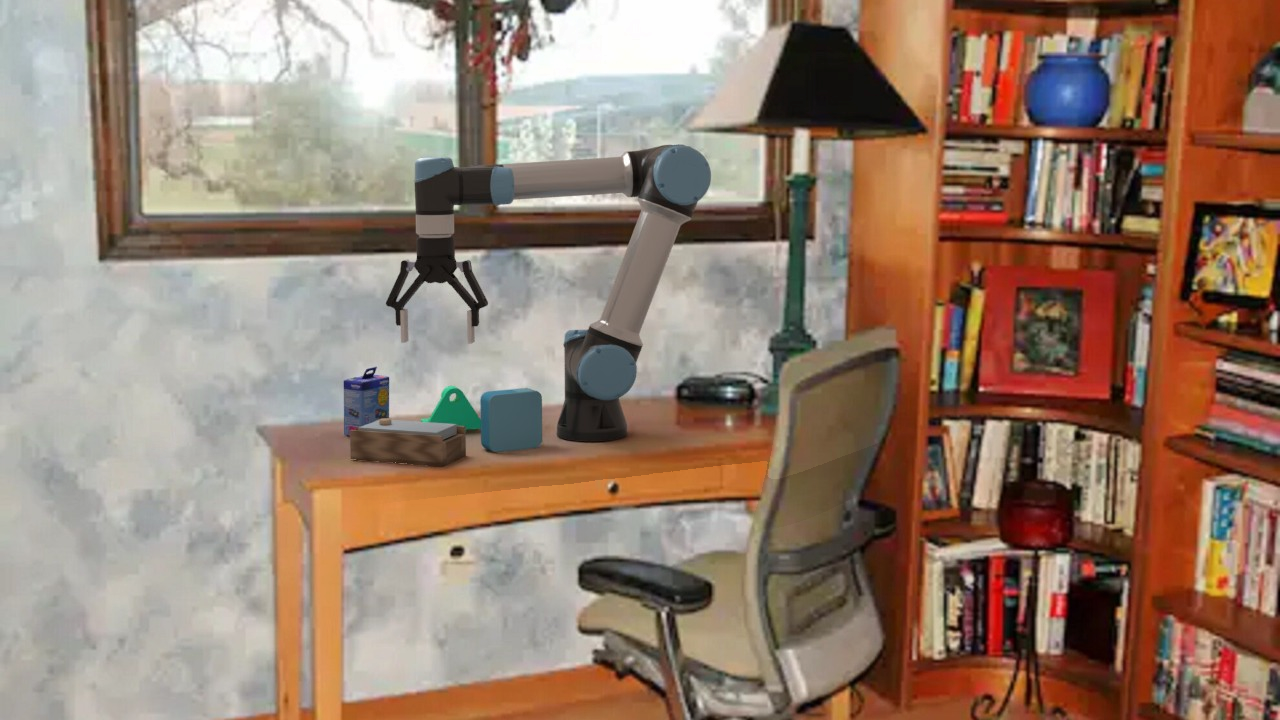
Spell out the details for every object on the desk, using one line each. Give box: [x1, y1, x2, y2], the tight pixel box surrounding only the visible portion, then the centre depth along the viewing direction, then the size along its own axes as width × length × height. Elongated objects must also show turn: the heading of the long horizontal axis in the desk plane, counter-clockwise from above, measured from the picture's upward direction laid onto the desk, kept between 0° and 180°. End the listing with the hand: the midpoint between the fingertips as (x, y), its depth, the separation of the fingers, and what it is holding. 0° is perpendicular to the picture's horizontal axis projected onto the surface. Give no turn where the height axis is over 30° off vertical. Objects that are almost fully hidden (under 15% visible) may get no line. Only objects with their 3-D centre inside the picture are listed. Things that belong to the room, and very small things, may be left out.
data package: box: [479, 387, 543, 454], centre depth 316 cm, size 12×4×12 cm, turn 121°
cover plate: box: [359, 417, 457, 440], centre depth 307 cm, size 17×9×3 cm, turn 72°
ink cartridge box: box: [343, 366, 390, 437], centre depth 331 cm, size 10×6×14 cm, turn 152°
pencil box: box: [349, 420, 467, 468], centre depth 307 cm, size 20×11×6 cm, turn 72°
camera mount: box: [420, 385, 481, 432], centre depth 334 cm, size 12×8×10 cm, turn 110°
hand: (437, 342), depth 307 cm, fingers open, 13 cm apart
